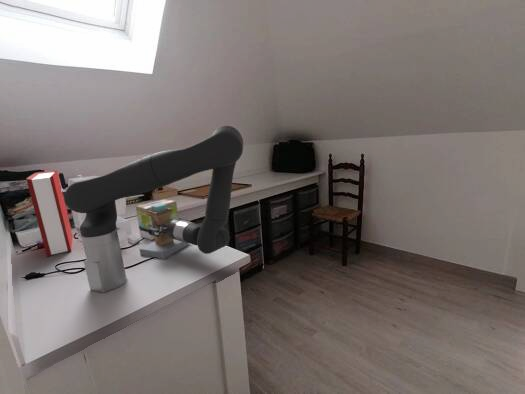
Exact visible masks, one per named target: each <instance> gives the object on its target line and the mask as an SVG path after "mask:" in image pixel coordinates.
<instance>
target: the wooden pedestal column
mask: <svg viewBox="0 0 525 394" xmlns="http://www.w3.org/2000/svg"><path fill="white" fill-rule="evenodd" d="M147 212H148V216H151V220H152V225H154V226H157V225H159V224H166V223H170V222H171V220H170V214H172V209H170V208H167V210H164V211H161V212H157V213H156V212H152V210H149V211H147ZM162 227H163V226H161V230H162ZM155 229H158V228H155ZM154 238H155V239H154V241H155V244H156V245H159V246H161V247H164V246H166V245H169V244H171V243H174V241H173V239H172V238H171V237H169V235H168V234H160V236H159V237H156V236H154Z"/></svg>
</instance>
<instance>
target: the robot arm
mask: <svg viewBox="0 0 525 394" xmlns="http://www.w3.org/2000/svg"><path fill="white" fill-rule="evenodd" d="M243 150H244V139H243V136H242V134H241V133H240V131H239V130H238V128H236V127H234V126H230V125H222V126H220V127H218V128H217V129H215V130H214V132H213V133H212V134H211V136H209V137H208V138H205V139H204V140H201V141H199V142H197V143H195V144H192V145H190V146H187V147H185V148H177V149H169V150H163V151H158V152H155V153H152V154H149V155H145V156H144V157H141V158H139V159H136V160H135V161H132V162H130V163H128V164H125V165H124V166H121V167H119V168H117V169H115V170H113V171H111V172H109V173H106V174H103V175H101V176H96V177H89V178H85V179H81V180H78V181H77V180H76V182H73V183H72V184H70V185H69V186H68V187H67V188H66V190H65V192H64V193H63V197H64V202H65V206H66V208H68V209H69V210H71V211H73V212H75V213H79V214H85V218H84V220H83V222H82V223H81V224H80V226H79V233H80V237H81V240H82V245H83V249H84V254H85V258H86V259H85V260H84V261H83V264H84V270H85V274H86V276H87V281H88V286H89V289H90V290H91V291H95V292H99V293H102V294H103V293H106V292H108V291H111V290H112V291H113V290H114V289H117V288H119V287H121V286H122V285H124V284H125V283H126V281H127V280H128V279H127V278H128V277H127V273H126V270H125V264H124V259H123V252H122V250H121V249H122V248H121V245H120V244H121V243H120V239H119V234H118V229H117V220H118V212H117V211H118V210H117V205H116V201H118V200H121V199H123V198H129V197H133V196H138V195H140V194H144V193H148V192H151V191H154V190H157V189H160V188H163V187H166V186H168V185H171V184H173V183H176V182H178V181H181V180H185V179H186V178H189V177H191V176H193V175H196V174H199V173H203V172H206V171H210V170H212V171H211V172H212V173H211V180H210V182H209V189H208V192H207V199H206V206H205V213H204V219H203V220H202V222H201V224H198V223H195V222H192V221H189V219H186V218H184V217H178V219H171V218H170V220H171V222H170V223H166V224H159V225H157V226H154V225H151V224H149V225H148V226H147V227H148V231H149V235H152V236H156V237H159V236H160V234H168V235H169V237H171V238H172V239H175V240H178V241H181V242H186V243H189V244H190V245H192V246H197V247H198V250H199V251H200V252H201V253H203V254H205V255H209V254H212V253H214V252H216V251H218V250H220V249H222V248H224V247H226V246H227V245H228V244H229V243H230V239H231V237H230V233H229V231H228V230H227V228H225V227H224V226H226V224H227V223H228V219H229V213H230V207H231V198H232V187H233V178H234V174H235V173H234V172H235V168H236V163H237V162H238V161H239V160H240V159H241V157H242V155H243V152H244V151H243ZM161 226H163V227H162V230H161ZM155 228H158V229H155Z"/></svg>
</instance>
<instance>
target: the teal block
mask: <svg viewBox="0 0 525 394" xmlns="http://www.w3.org/2000/svg"><path fill="white" fill-rule="evenodd" d="M151 208H152V212H156V213H157V212H161V211H164V210H167V206H166V204H157V205H153V206H151Z"/></svg>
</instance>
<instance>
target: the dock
mask: <svg viewBox="0 0 525 394" xmlns="http://www.w3.org/2000/svg"><path fill="white" fill-rule="evenodd" d="M173 241H174V243H171V244H169V245H166V246H164V247H161V246H159V245H156V244H155V240H153V241H152V242H150V243H148V244H146V245H145V246H143V247H140V248H139V253H140V256H144V257H145V256H146V257H150V256H151V257H152V258H156V257H157V258H156V259H163V260H164V259H167V258H168V257H170V256H171V255H173V254H175V253H176V252H178V251H179V250H181V249H183V248H185V247H186V246H187V245H189V244H190V243H186V242H181V241H178V240H175V239H173ZM151 257H150V258H151Z"/></svg>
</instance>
